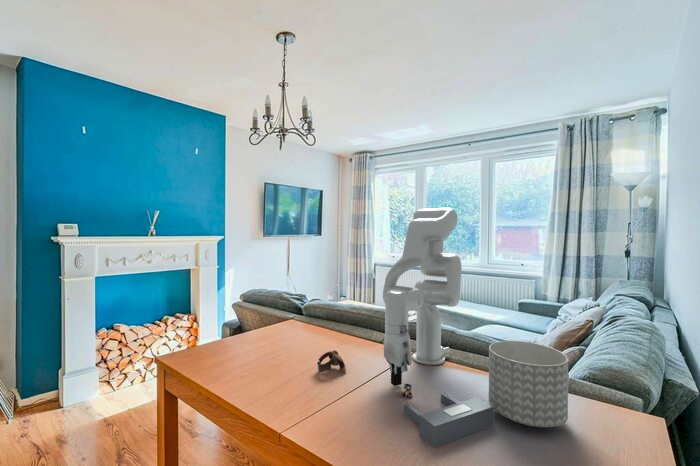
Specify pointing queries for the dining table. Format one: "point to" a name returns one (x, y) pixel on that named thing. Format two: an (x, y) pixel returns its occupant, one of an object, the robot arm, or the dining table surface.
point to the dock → (452, 419)
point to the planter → (528, 383)
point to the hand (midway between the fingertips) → (396, 384)
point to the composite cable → (405, 391)
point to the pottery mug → (331, 361)
